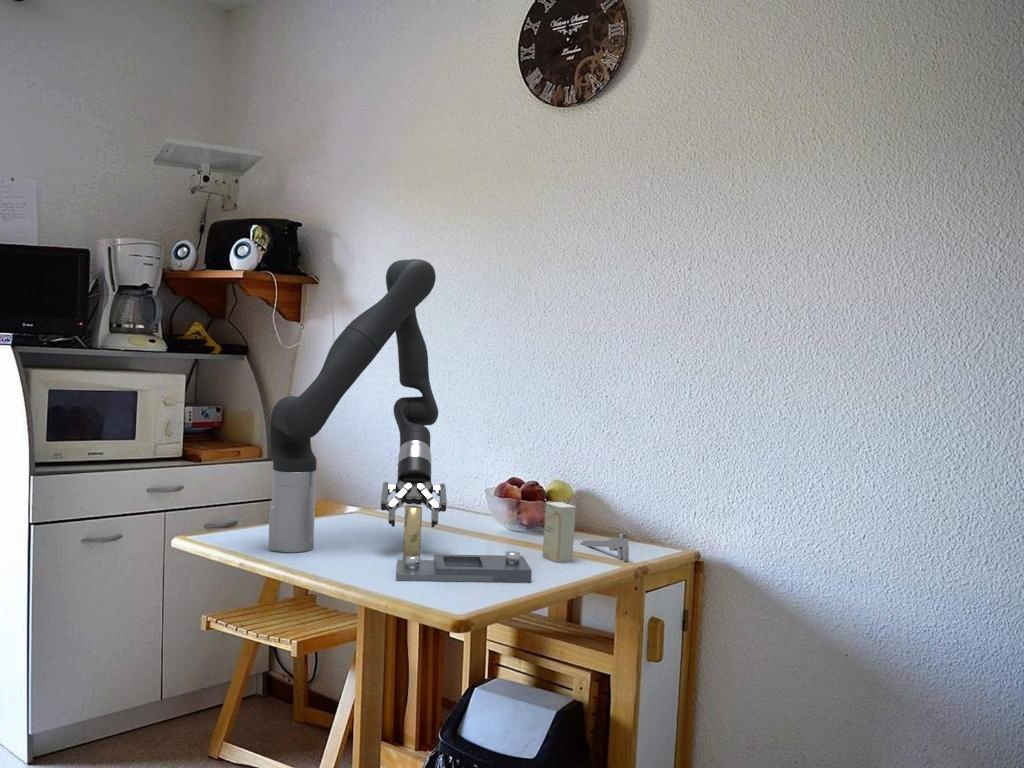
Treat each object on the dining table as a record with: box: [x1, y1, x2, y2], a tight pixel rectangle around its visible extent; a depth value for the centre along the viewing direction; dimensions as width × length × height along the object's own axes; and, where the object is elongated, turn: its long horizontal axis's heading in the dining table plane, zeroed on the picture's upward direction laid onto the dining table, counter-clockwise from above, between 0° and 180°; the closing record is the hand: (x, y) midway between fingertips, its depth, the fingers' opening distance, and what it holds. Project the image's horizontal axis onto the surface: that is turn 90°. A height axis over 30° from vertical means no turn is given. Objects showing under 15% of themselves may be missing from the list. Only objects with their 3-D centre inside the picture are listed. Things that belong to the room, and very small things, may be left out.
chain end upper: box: [433, 550, 533, 583], centre depth 178 cm, size 18×13×4 cm
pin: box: [402, 505, 423, 560], centre depth 189 cm, size 4×4×11 cm
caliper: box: [580, 533, 630, 562], centre depth 205 cm, size 20×1×6 cm, turn 24°
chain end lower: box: [396, 555, 494, 583], centre depth 177 cm, size 18×13×3 cm
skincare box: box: [542, 501, 577, 563], centre depth 195 cm, size 6×4×12 cm
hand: (413, 524), depth 190 cm, fingers open, 8 cm apart
